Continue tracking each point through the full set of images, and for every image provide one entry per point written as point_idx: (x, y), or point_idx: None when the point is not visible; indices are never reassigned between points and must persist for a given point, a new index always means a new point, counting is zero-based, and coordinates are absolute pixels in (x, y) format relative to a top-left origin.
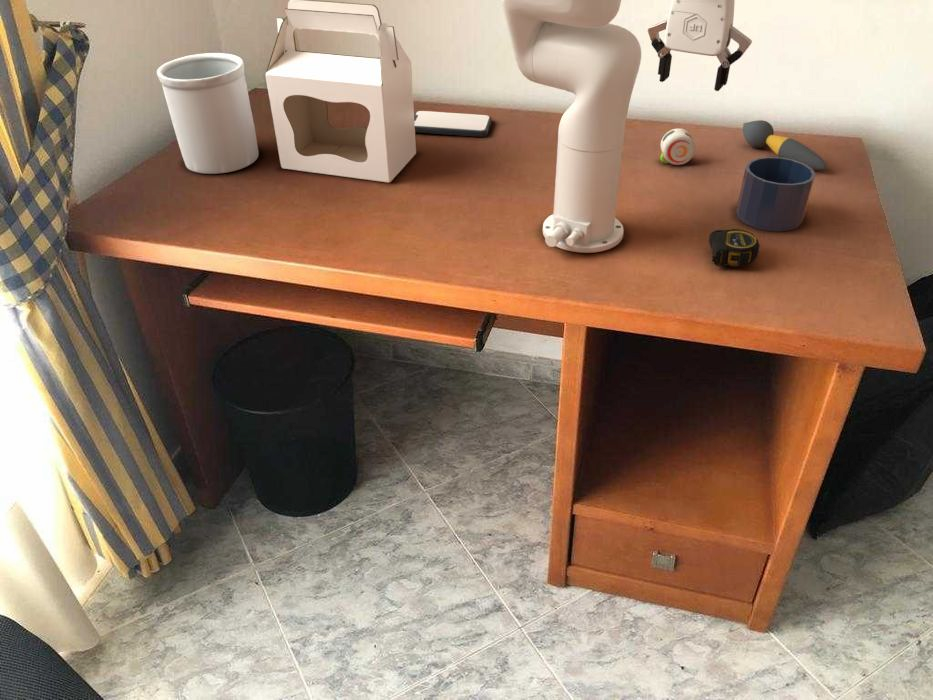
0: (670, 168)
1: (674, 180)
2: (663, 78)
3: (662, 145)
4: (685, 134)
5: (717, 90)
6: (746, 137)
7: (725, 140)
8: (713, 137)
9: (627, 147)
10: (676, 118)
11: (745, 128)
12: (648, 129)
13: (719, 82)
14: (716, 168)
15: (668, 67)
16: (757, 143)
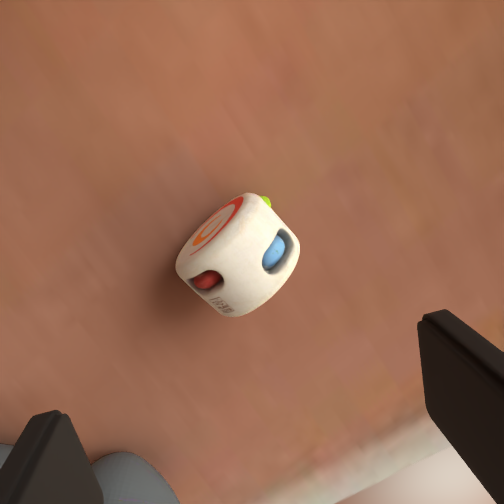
0: (218, 187)
1: (156, 116)
2: (431, 327)
3: (277, 216)
4: (214, 268)
5: (38, 414)
6: (139, 463)
7: (208, 444)
8: (243, 438)
9: (401, 227)
10: (382, 467)
11: (153, 490)
12: (410, 368)
13: (7, 459)
14: (116, 282)
15: (467, 428)
16: (101, 459)
